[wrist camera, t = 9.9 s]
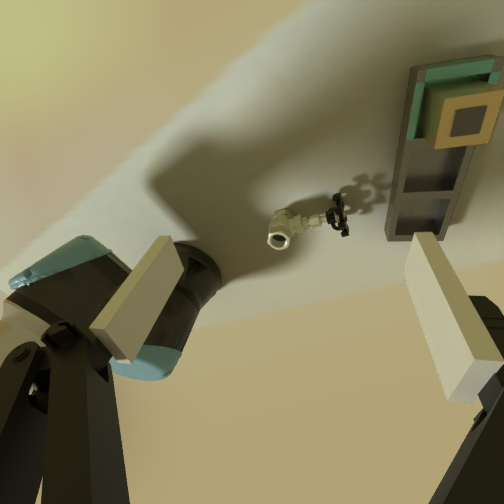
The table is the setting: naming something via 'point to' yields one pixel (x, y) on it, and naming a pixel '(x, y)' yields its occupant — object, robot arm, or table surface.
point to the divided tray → (430, 157)
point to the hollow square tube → (459, 112)
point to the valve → (304, 224)
